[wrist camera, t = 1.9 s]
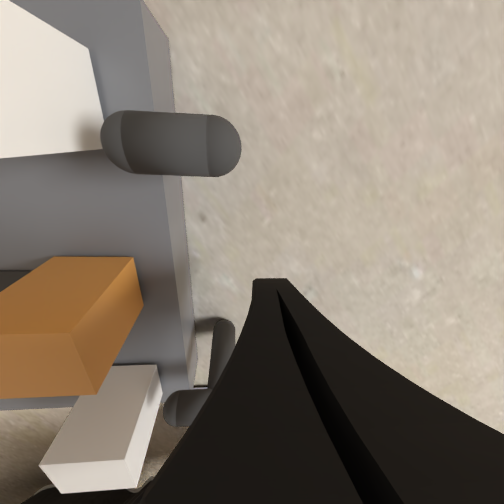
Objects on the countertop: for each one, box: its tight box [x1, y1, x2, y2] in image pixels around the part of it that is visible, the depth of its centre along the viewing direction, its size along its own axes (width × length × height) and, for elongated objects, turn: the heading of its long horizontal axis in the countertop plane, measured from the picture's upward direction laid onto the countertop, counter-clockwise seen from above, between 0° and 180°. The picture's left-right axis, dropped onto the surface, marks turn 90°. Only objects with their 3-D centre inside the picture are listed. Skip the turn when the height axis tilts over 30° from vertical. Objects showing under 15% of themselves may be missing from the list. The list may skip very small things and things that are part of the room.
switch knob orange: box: [0, 257, 144, 399], centre depth 8 cm, size 2×3×4 cm
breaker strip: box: [0, 0, 198, 410], centre depth 11 cm, size 18×12×3 cm, turn 177°
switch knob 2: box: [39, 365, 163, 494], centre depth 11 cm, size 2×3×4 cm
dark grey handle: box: [100, 110, 241, 427], centre depth 10 cm, size 12×3×6 cm, turn 177°
